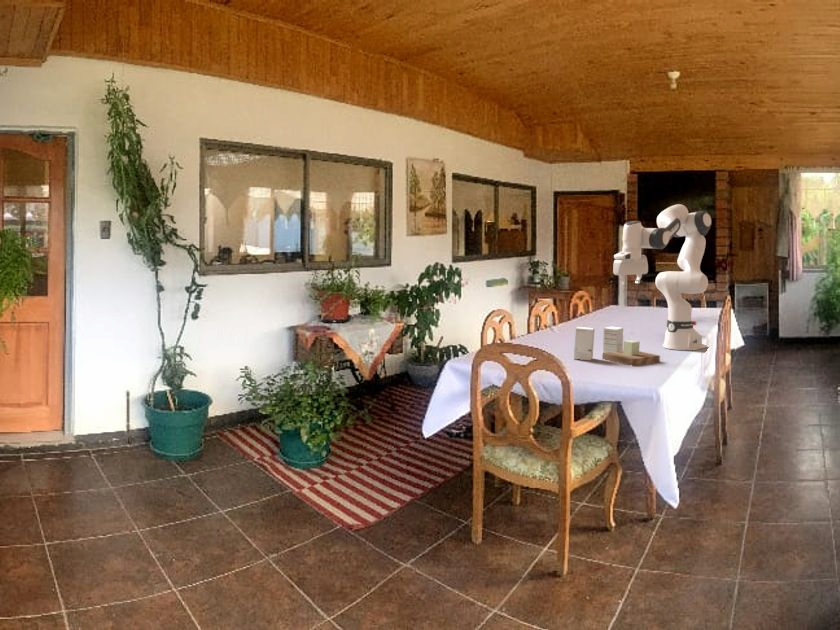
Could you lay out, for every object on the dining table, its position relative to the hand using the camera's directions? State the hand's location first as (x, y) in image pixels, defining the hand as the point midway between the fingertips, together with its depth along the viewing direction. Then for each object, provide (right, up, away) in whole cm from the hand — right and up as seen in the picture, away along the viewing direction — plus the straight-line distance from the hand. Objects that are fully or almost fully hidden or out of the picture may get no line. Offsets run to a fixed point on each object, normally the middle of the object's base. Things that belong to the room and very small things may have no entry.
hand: (630, 284), depth 341 cm
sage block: (-4, -33, -13) cm, 36 cm away
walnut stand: (-4, -36, -13) cm, 38 cm away
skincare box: (-25, -36, -9) cm, 44 cm away
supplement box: (-7, -34, +6) cm, 35 cm away
